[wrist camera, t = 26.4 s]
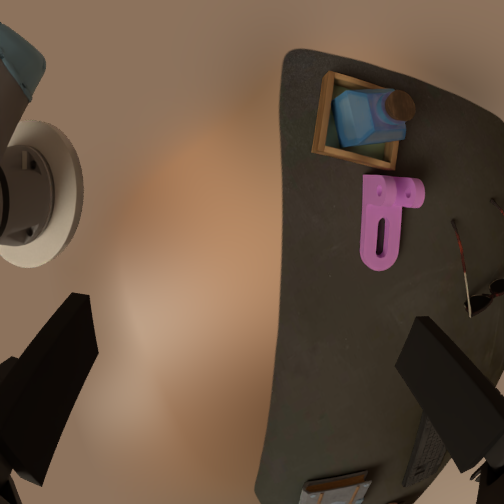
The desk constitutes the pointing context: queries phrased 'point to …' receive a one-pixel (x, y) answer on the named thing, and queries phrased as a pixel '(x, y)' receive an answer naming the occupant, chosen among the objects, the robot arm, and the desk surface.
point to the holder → (326, 130)
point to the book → (336, 490)
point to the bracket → (386, 215)
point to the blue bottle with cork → (371, 116)
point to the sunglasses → (496, 287)
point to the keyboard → (424, 453)
